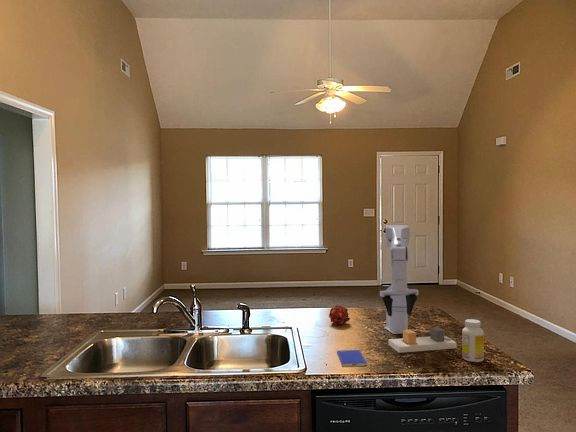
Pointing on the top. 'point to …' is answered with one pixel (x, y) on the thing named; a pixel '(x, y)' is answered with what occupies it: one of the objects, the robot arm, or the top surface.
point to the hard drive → (351, 358)
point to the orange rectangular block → (409, 337)
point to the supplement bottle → (473, 341)
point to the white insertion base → (425, 342)
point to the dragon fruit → (339, 315)
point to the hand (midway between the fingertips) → (399, 315)
